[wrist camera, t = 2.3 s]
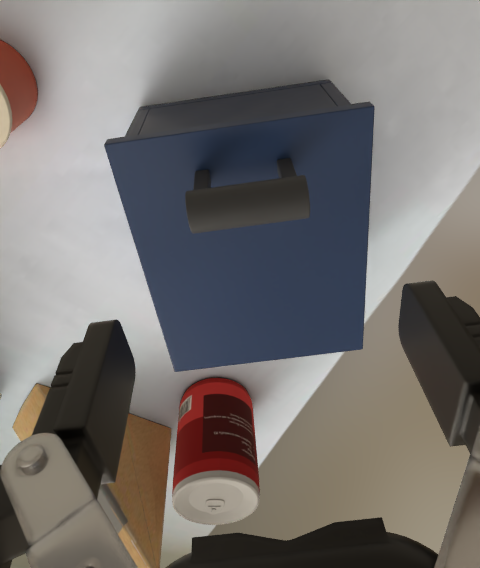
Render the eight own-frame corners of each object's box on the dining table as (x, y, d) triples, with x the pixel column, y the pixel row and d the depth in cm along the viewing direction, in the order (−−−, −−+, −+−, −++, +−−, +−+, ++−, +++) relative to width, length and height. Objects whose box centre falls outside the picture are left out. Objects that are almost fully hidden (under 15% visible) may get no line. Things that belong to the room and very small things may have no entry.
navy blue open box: (139, 107, 30) (113, 158, 22) (329, 79, 29) (368, 122, 22) (183, 283, 38) (175, 363, 31) (331, 264, 38) (359, 340, 30)
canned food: (189, 428, 50) (183, 530, 41) (171, 381, 46) (160, 484, 37) (257, 419, 50) (266, 520, 41) (245, 370, 45) (253, 472, 36)
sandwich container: (35, 380, 45) (-32, 539, 33) (173, 427, 50) (159, 578, 38) (10, 427, 49) (-58, 583, 37) (140, 466, 54) (118, 613, 42)
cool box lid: (106, 138, 22) (79, 185, 17) (369, 101, 21) (409, 139, 17) (175, 363, 31) (168, 430, 26) (359, 341, 30) (383, 406, 26)
